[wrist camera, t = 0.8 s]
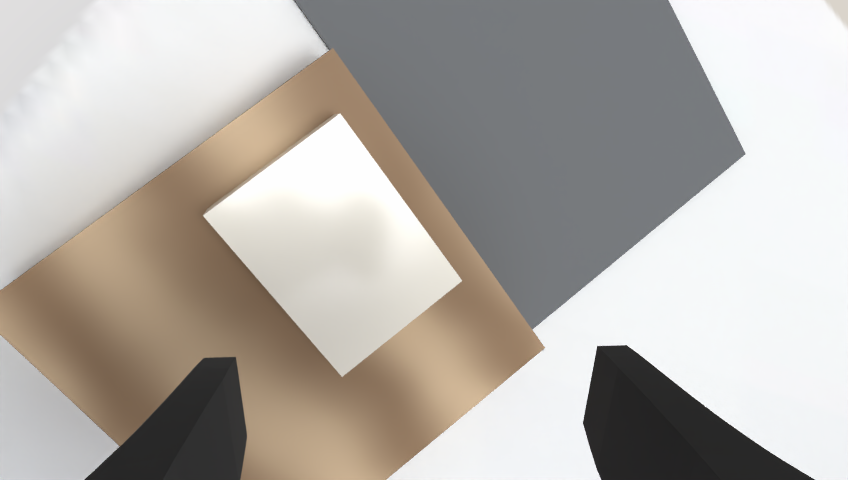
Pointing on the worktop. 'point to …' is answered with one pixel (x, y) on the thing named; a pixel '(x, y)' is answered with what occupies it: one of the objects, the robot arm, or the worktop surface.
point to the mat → (540, 123)
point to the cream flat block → (334, 244)
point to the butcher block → (261, 309)
